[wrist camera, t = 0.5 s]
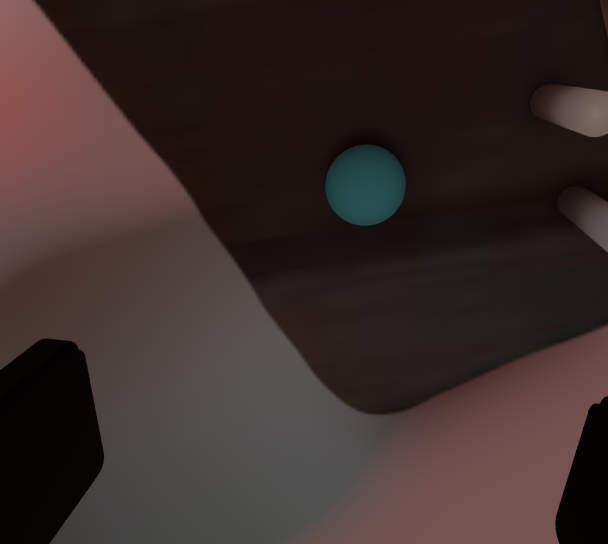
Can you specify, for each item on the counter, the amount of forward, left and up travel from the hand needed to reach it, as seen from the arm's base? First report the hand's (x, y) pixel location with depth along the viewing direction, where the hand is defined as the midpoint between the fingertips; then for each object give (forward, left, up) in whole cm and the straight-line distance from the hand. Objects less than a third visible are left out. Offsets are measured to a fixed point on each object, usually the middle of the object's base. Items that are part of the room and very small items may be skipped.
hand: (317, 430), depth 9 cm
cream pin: (+2, +13, -32) cm, 34 cm away
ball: (+2, -1, -29) cm, 29 cm away
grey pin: (+10, +13, -32) cm, 36 cm away
